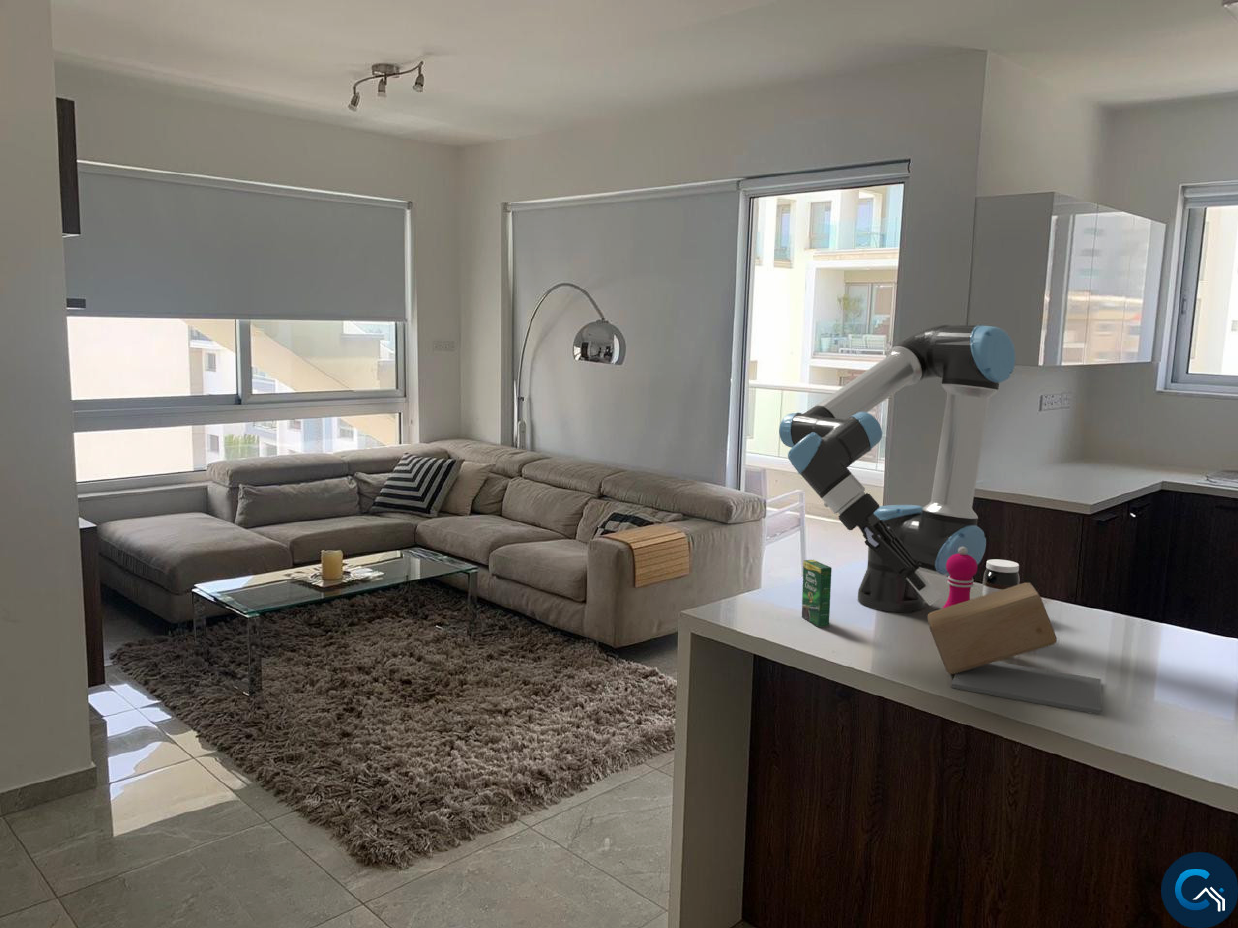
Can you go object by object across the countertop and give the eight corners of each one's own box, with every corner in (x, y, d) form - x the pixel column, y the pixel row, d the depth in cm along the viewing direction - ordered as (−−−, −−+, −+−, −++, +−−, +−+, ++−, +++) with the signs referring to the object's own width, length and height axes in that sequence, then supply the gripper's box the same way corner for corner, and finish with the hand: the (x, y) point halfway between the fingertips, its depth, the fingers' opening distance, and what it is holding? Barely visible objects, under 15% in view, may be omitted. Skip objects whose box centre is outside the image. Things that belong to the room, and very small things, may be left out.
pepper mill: (936, 644, 191) (943, 548, 188) (938, 633, 198) (945, 541, 195) (974, 649, 189) (981, 552, 186) (974, 638, 195) (982, 544, 192)
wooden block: (948, 677, 172) (1059, 644, 167) (928, 626, 172) (1039, 592, 167) (944, 660, 182) (1049, 628, 177) (925, 612, 182) (1029, 579, 176)
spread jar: (980, 604, 219) (984, 556, 218) (1033, 610, 215) (1037, 561, 214) (980, 619, 208) (984, 568, 207) (1035, 626, 204) (1040, 574, 203)
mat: (962, 659, 182) (962, 655, 182) (1100, 682, 172) (1100, 678, 172) (951, 687, 168) (951, 683, 168) (1101, 714, 158) (1101, 710, 158)
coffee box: (799, 616, 208) (802, 558, 206) (811, 615, 208) (814, 558, 206) (817, 628, 200) (820, 568, 198) (829, 626, 201) (832, 567, 199)
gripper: (845, 509, 187) (926, 603, 182) (828, 521, 176) (914, 621, 171) (873, 486, 184) (956, 580, 179) (858, 496, 173) (946, 597, 168)
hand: (935, 600), depth 175 cm, fingers closed
